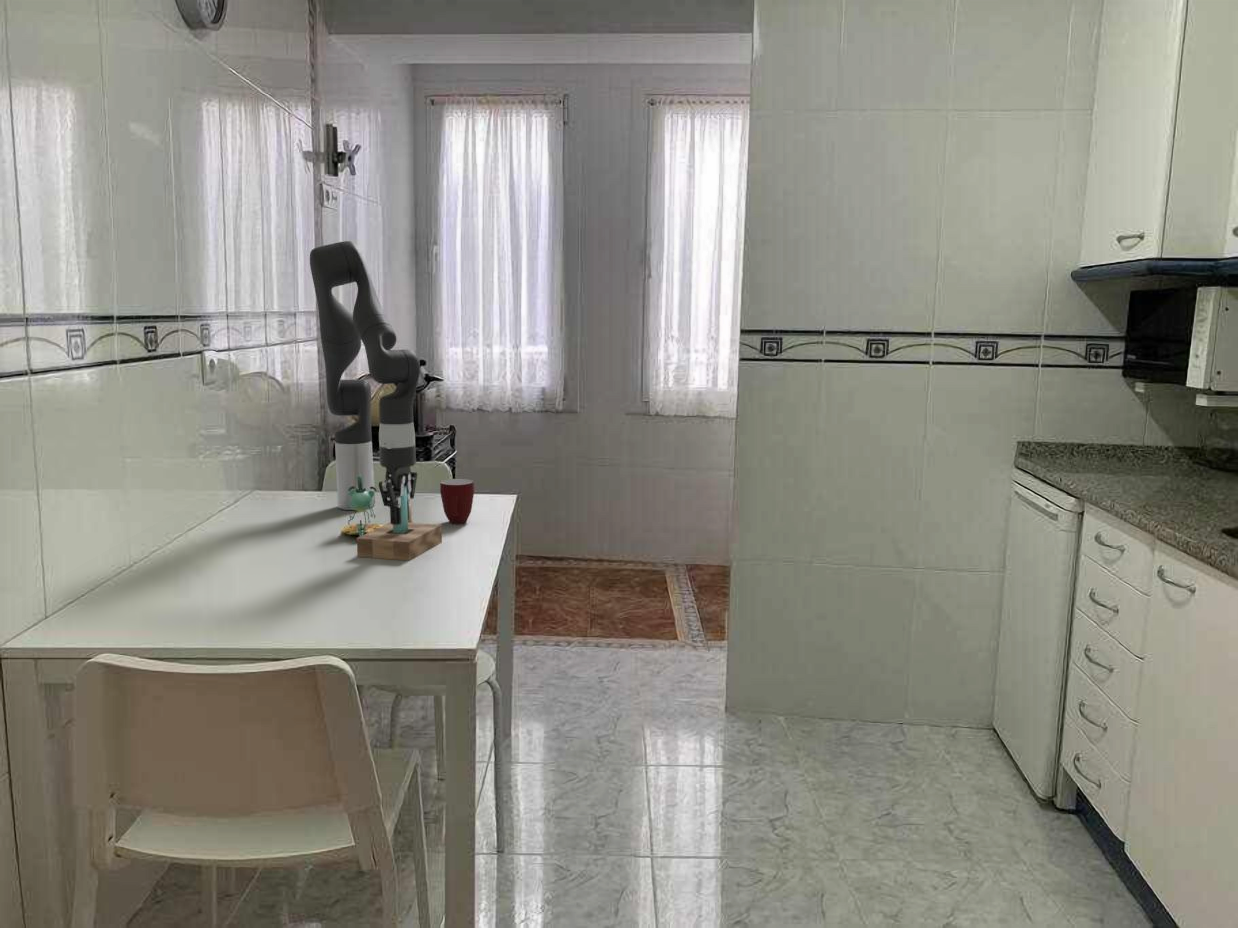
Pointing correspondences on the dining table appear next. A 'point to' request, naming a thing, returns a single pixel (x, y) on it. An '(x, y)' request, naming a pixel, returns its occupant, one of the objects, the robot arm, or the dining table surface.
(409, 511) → the short pin
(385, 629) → the dining table surface
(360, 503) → the teal creature figurine
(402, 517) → the long pin
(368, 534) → the hole block
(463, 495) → the mug
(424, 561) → the dining table surface
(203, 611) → the dining table surface
